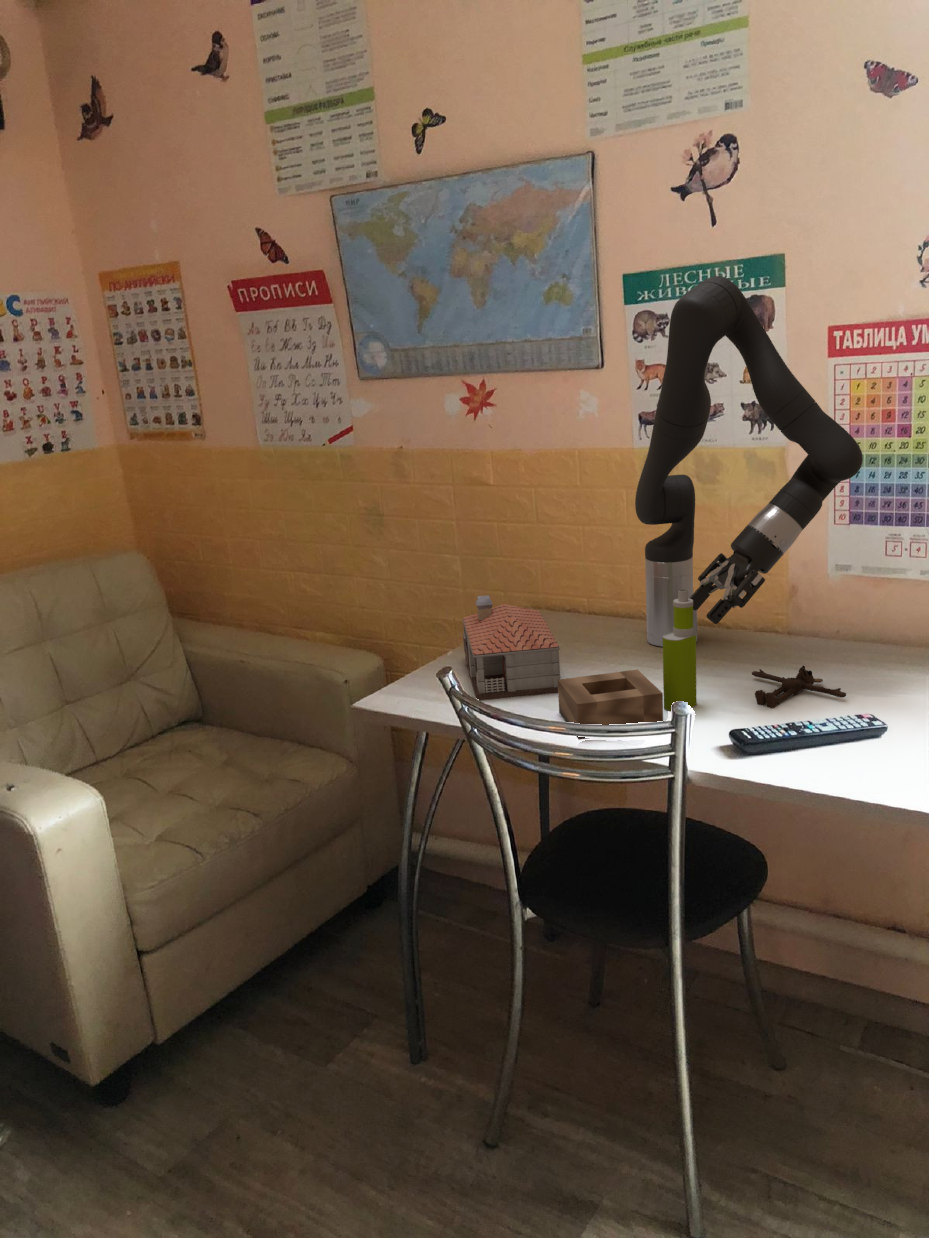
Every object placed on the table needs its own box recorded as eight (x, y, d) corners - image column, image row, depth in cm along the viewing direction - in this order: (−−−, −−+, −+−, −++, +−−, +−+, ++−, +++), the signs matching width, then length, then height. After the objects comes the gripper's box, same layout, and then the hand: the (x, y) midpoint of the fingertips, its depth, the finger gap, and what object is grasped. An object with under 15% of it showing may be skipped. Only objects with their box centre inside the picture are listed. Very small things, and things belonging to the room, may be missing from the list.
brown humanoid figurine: (718, 680, 177) (766, 650, 185) (719, 702, 178) (768, 672, 187) (812, 704, 163) (860, 671, 172) (813, 728, 165) (861, 694, 173)
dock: (638, 702, 176) (637, 669, 175) (663, 728, 165) (662, 693, 163) (559, 712, 174) (557, 679, 173) (578, 739, 163) (577, 704, 161)
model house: (464, 660, 206) (458, 587, 201) (541, 653, 207) (537, 580, 202) (474, 702, 183) (468, 621, 179) (561, 693, 184) (557, 613, 180)
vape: (700, 703, 174) (700, 589, 168) (677, 713, 170) (675, 597, 165) (683, 698, 177) (682, 586, 171) (660, 708, 173) (657, 593, 168)
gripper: (732, 516, 174) (669, 590, 175) (771, 532, 160) (701, 611, 162) (762, 544, 176) (698, 616, 177) (802, 561, 162) (733, 639, 164)
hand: (700, 613), depth 170 cm, fingers open, 8 cm apart
